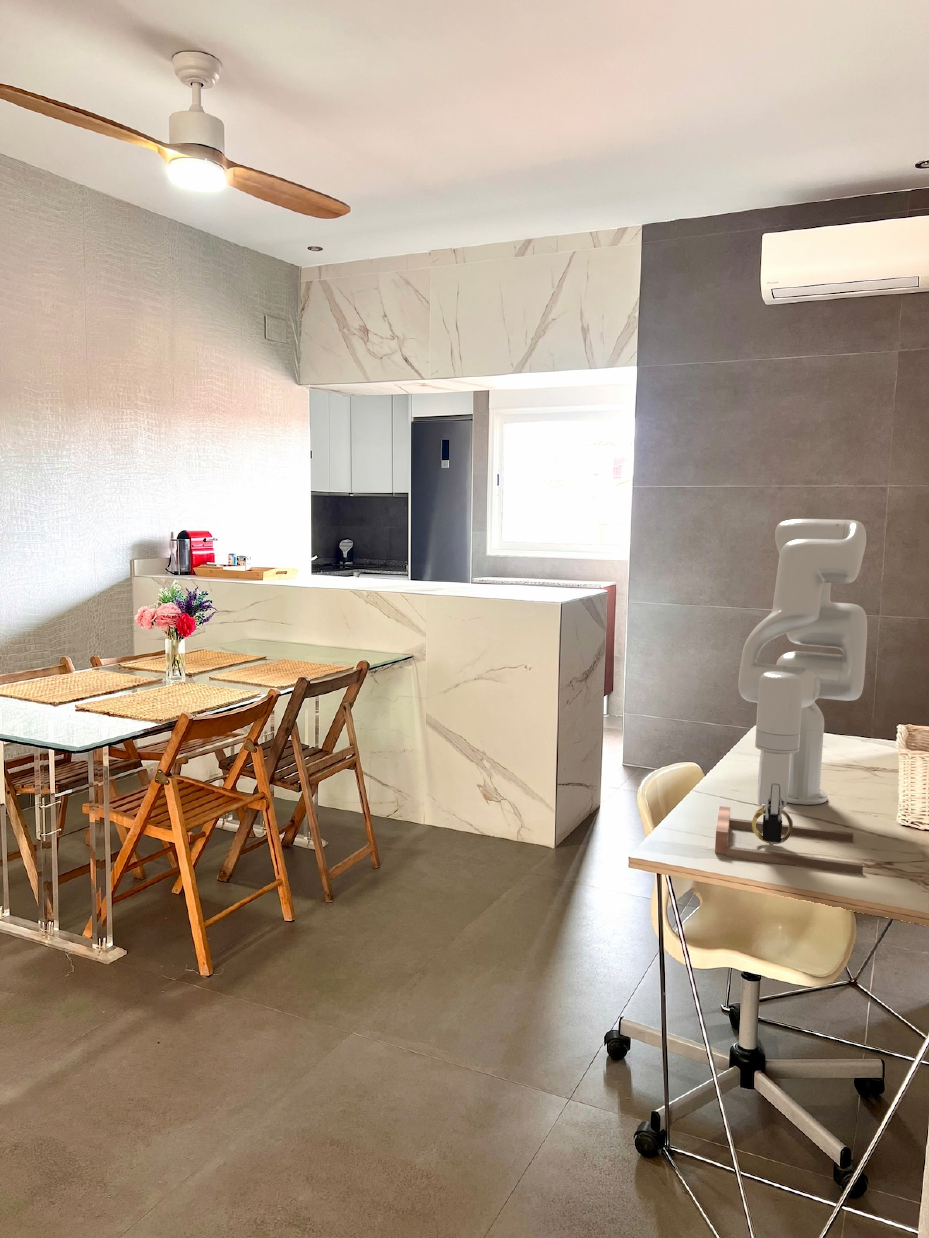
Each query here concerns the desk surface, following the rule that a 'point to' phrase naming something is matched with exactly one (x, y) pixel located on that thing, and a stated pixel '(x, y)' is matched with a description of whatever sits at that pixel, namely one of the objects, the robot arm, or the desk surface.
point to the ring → (762, 810)
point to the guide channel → (782, 858)
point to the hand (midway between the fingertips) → (771, 838)
